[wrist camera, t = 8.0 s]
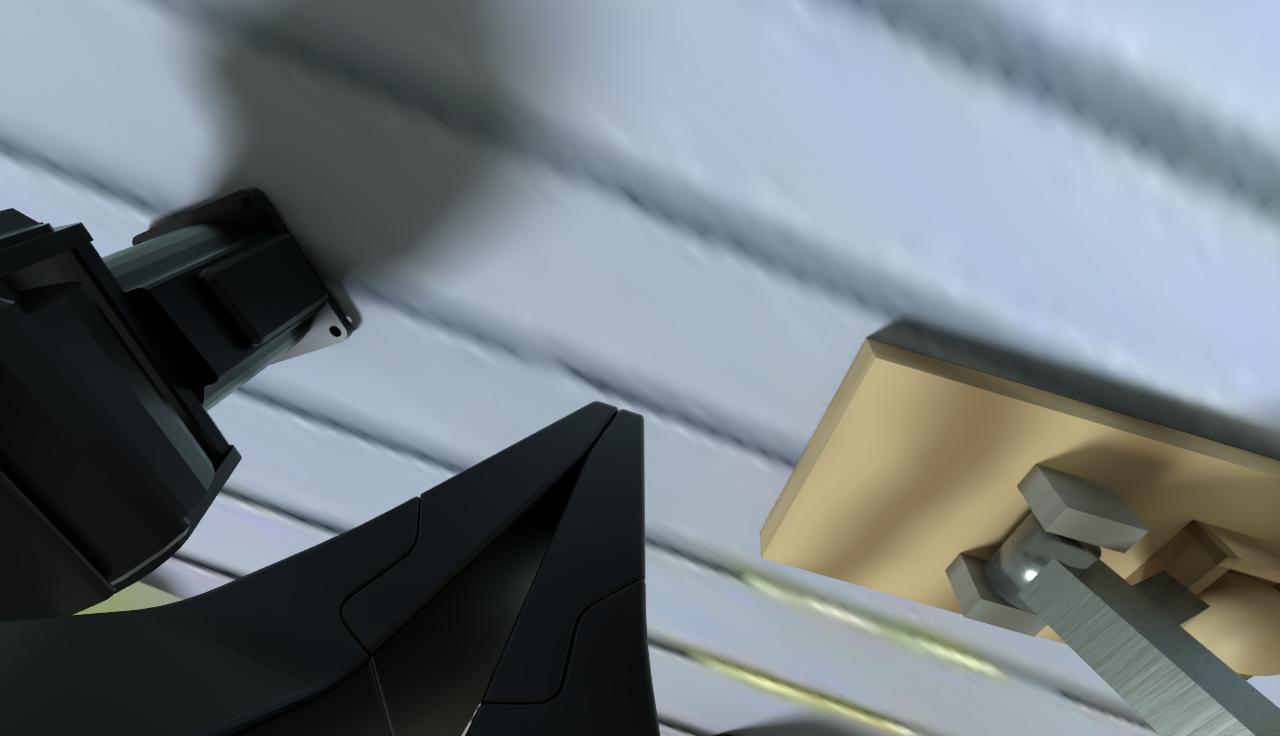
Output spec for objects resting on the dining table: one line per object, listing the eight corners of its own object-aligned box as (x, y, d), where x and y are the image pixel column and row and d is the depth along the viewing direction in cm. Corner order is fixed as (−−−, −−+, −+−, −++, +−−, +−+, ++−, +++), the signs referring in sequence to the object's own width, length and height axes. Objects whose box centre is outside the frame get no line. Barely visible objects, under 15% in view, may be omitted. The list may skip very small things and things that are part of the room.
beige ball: (1150, 616, 25) (1211, 699, 22) (1155, 560, 23) (1221, 641, 20) (1251, 606, 24) (1330, 692, 21) (1264, 547, 22) (1352, 630, 19)
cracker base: (759, 532, 27) (764, 601, 24) (866, 337, 21) (892, 393, 18) (1152, 644, 28) (1209, 726, 24) (1358, 484, 22) (1469, 563, 19)
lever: (971, 567, 23) (1450, 1048, 13) (1019, 513, 21) (1606, 1019, 12) (1043, 542, 26) (1486, 930, 16) (1090, 492, 24) (1618, 892, 14)
